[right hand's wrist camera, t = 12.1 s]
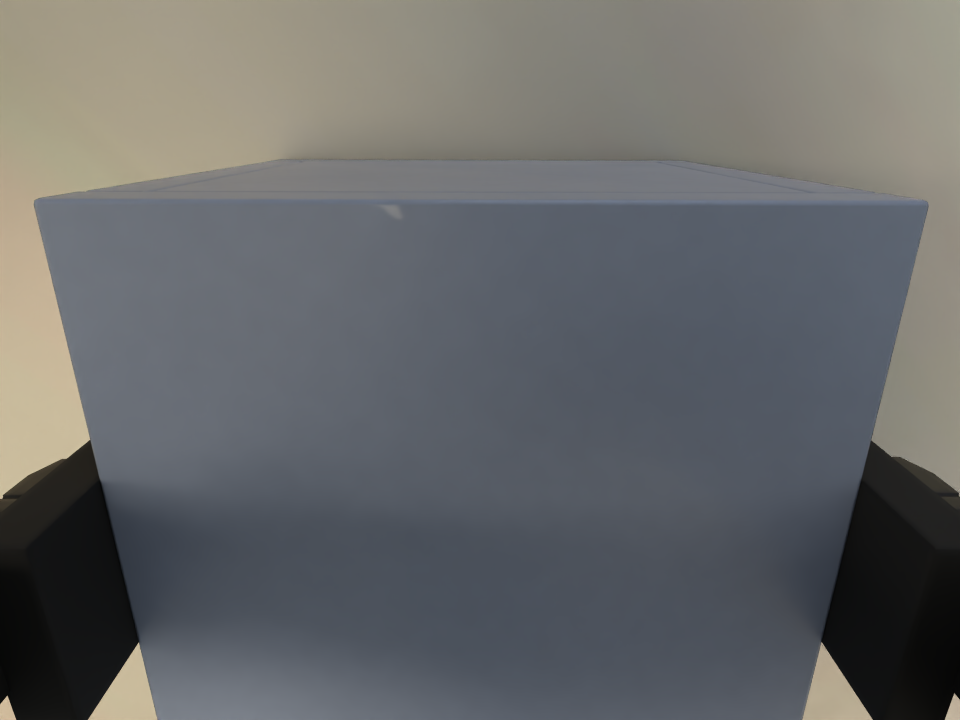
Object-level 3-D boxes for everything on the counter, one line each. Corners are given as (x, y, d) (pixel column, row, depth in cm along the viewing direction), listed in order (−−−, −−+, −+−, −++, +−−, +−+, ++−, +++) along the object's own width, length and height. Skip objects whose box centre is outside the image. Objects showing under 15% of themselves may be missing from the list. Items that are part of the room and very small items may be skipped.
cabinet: (616, 759, 22) (700, 1140, 14) (340, 759, 22) (257, 1141, 14) (682, 159, 15) (932, 200, 7) (277, 159, 15) (29, 199, 7)
